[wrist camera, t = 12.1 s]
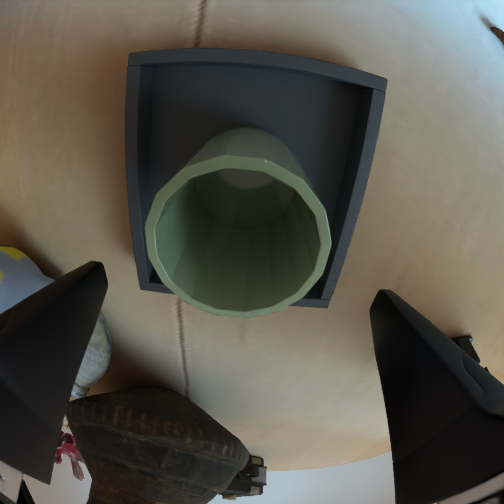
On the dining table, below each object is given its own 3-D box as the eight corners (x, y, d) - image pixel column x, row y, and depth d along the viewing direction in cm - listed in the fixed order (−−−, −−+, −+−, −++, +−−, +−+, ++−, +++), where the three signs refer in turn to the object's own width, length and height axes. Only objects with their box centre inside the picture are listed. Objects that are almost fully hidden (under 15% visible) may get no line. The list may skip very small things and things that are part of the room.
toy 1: (58, 159, 18) (-82, 180, 7) (103, 289, 14) (-106, 344, 2) (52, 303, 31) (-32, 326, 19) (92, 394, 26) (-3, 427, 15)
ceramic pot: (57, 335, 27) (-5, 485, 8) (251, 361, 27) (245, 578, 8) (119, 418, 40) (96, 518, 21) (249, 436, 40) (246, 549, 21)
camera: (240, 501, 45) (278, 497, 38) (186, 492, 41) (216, 490, 34) (242, 465, 54) (278, 454, 47) (191, 454, 50) (221, 442, 44)
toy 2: (105, 427, 51) (101, 429, 60) (21, 395, 42) (30, 403, 50) (100, 490, 38) (96, 482, 47) (12, 458, 28) (23, 456, 37)
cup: (290, 233, 18) (307, 322, 12) (191, 223, 18) (155, 307, 11) (307, 134, 15) (350, 172, 8) (194, 123, 14) (140, 151, 8)
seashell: (40, 322, 16) (92, 348, 17) (83, 278, 24) (126, 295, 25) (55, 404, 20) (96, 423, 20) (81, 358, 27) (117, 373, 28)
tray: (321, 286, 21) (327, 308, 19) (150, 269, 21) (140, 289, 19) (370, 79, 13) (388, 79, 11) (145, 57, 12) (128, 53, 10)
